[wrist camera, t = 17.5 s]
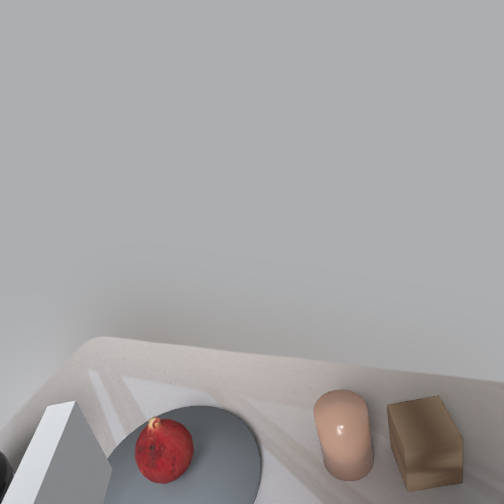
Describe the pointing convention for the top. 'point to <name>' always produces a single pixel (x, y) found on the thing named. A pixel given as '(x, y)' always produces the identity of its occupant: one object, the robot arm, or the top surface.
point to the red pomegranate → (163, 450)
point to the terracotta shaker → (344, 434)
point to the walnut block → (425, 443)
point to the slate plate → (193, 464)
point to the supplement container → (5, 475)
